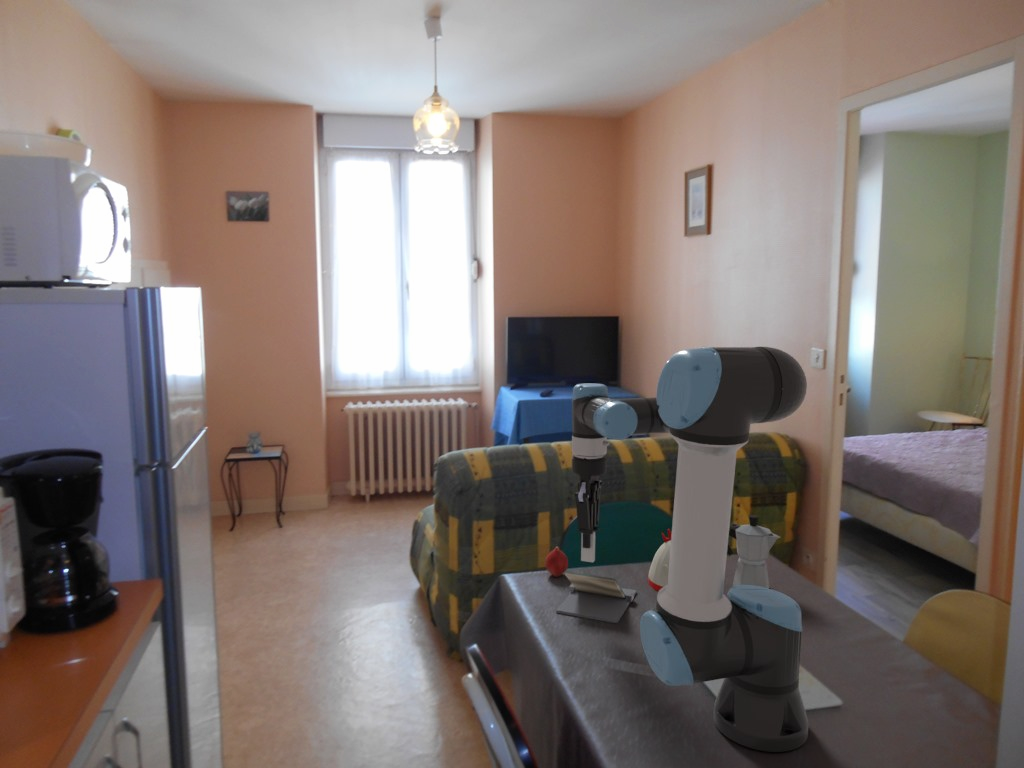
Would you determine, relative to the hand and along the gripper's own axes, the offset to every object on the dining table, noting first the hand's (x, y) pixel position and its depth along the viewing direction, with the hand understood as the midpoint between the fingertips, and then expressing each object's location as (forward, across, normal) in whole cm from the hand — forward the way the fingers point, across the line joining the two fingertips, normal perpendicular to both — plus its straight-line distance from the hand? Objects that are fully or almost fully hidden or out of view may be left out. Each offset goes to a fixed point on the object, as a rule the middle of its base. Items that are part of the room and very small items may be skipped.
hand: (588, 560), depth 158 cm
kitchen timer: (+13, +26, -15) cm, 33 cm away
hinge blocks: (+12, +11, 0) cm, 16 cm away
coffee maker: (+13, +31, -31) cm, 46 cm away
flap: (+12, +11, 0) cm, 16 cm away
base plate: (+13, +8, 0) cm, 15 cm away
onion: (+13, +19, +14) cm, 27 cm away
